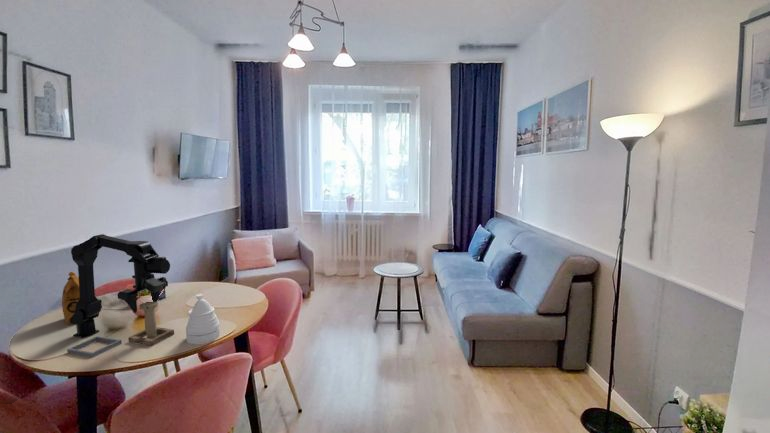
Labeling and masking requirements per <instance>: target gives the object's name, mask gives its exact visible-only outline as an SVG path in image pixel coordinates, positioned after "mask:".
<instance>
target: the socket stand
mask: <svg viewBox="0 0 770 433" xmlns="http://www.w3.org/2000/svg"><path fill="white" fill-rule="evenodd" d="M156 334H159V335H156V337H155V338H153V339H148V338H147V335H146V330H145V329H143V330H141V331H139V332H136V333H135V334H133V335H130V336H128V343H133V344H138V345H145V346H150V347H154V346H155V345H156V344H158V343H161V341H165V340H166V339H168V338H169V337H171V336H173V335H175V329H172V328H164V327H159V326H156Z"/></svg>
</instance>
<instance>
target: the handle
mask: <svg viewBox="0 0 770 433" xmlns="http://www.w3.org/2000/svg"><path fill="white" fill-rule="evenodd" d="M158 306H159V303H158V301H157V302H146V303H143V302H141V303H140V304H139V310H142V311H144V330H146V338H148V339H153V338H155V337H157V333H156V327H157V321H156V315H155V309H156V308H157V307H158Z"/></svg>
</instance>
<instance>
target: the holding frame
mask: <svg viewBox="0 0 770 433" xmlns="http://www.w3.org/2000/svg"><path fill="white" fill-rule="evenodd" d="M98 341H99V342H104V343H105V342H106V343H110V344H107V345H105V346H103V347H101V348H99V349H96V350H95V351H92V352H91V351H87V350H86V351H85V350H81V349H82V348H84V347H86V346H88V345H91V344H93V343H95V342H98ZM121 344H122V339H118V338H112V337H108V336H106V337H105V336H100V335H97V336H94V337H93V338H90V339H88V340H85V341H83V342H81V343H78V344H75V345H74V346H72V347H69V348H66V350H67V354H73V355H77V356H82V357H87V358H94V357H96V356H98V355H100V354H103V353H105V352H106V351H109V350H111V349H113V348H115V347H118V346H119V345H121Z"/></svg>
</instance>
